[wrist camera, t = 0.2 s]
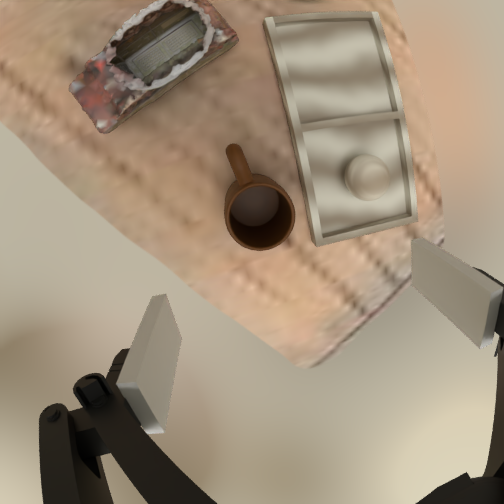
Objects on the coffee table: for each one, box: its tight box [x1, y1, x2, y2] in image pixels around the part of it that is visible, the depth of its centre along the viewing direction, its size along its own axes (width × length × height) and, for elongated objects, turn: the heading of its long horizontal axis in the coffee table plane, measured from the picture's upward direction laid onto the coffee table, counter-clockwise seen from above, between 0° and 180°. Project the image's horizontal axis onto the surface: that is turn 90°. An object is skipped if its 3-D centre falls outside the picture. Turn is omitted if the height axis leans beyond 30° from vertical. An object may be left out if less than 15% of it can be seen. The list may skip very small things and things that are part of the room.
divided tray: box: [263, 11, 418, 247], centre depth 38 cm, size 31×16×2 cm, turn 13°
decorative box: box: [69, 0, 239, 134], centre depth 31 cm, size 13×20×10 cm, turn 118°
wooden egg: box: [344, 154, 390, 201], centre depth 38 cm, size 6×6×6 cm
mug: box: [224, 143, 295, 251], centre depth 37 cm, size 12×8×9 cm, turn 21°
